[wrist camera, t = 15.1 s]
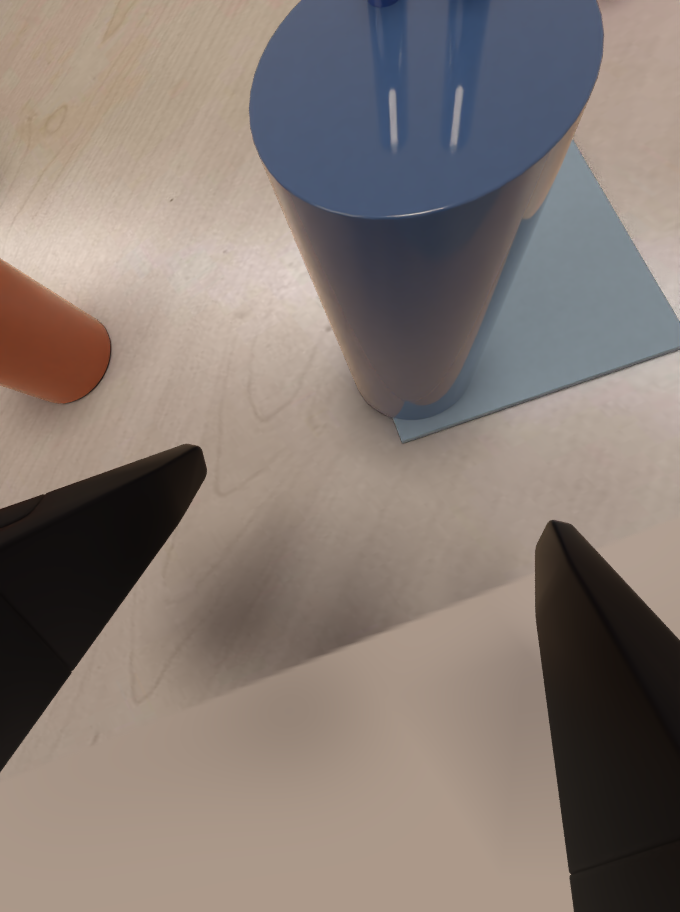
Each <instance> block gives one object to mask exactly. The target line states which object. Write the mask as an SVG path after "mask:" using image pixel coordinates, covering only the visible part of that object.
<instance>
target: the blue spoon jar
mask: <svg viewBox="0 0 680 912" xmlns="http://www.w3.org/2000/svg"><path fill="white" fill-rule="evenodd" d="M603 43H604V30H603V22H602V14H601V11H600V8H599V5H598V2H597V0H301V1H300V2H299V3H298V4H297V5H296V6H295V7H294V8H293V9H292V10H291V11H290V13H289V14H288V15H287V16H286V18H285V19H284V20H283V21H282V23H281V24H280V25H279V26H278V28H277V30H276V31H275V33H274V34H273V36H272V37H271V39H270V40H269V42H268V44H267V46H266V48H265V50H264V52H263V54H262V56H261V58H260V60H259V63H258V66H257V69H256V71H255V74H254V78H253V83H252V87H251V91H250V103H249V117H250V129H251V133H252V137H253V142H254V145H255V147H256V150H257V152H258V154H259V157H260V159H261V162H262V164H263V166H264V169H265V171H266V173H267V176H268V178H269V180H270V183H271V185H272V188H273V190H274V192H275V195H276V197H277V199H278V202H279V204H280V206H281V209H282V211H283V214H284V216H285V218H286V221H287V223H288V225H289V228H290V230H291V232H292V235H293V237H294V240H295V242H296V244H297V247H298V249H299V251H300V254H301V256H302V258H303V261H304V263H305V266H306V268H307V270H308V273H309V275H310V277H311V280H312V282H313V284H314V287H315V289H316V292H317V294H318V296H319V299H320V301H321V303H322V306H323V308H324V310H325V313H326V315H327V318H328V320H329V322H330V325H331V327H332V329H333V332H334V334H335V336H336V339H337V341H338V344H339V346H340V348H341V351H342V353H343V355H344V358H345V360H346V362H347V365H348V367H349V370H350V372H351V374H352V377H353V379H354V381H355V384H356V386H357V388H358V390H359V392H360V394H361V395H362V397H363V398H364V399H365V400H366V402H367V403H368V404H370V405H371V406H372V407H373V408H374V409H376V410H377V411H379V412H381V413H383V414H385V415H387V416H390V417H393V418H397V419H403V420H419V419H425V418H429V417H432V416H435V415H437V414H440V413H442V412H444V411H445V410H447V409H449V408H450V407H451V406H453V405H454V404H455V403H456V402H457V401H458V400H459V399H460V398H461V397H462V396H463V395H464V393H465V392H466V391H467V389H468V387H469V385H470V383H471V381H472V379H473V376H474V374H475V371H476V369H477V367H478V364H479V362H480V359H481V357H482V355H483V352H484V350H485V347H486V345H487V343H488V340H489V338H490V335H491V333H492V331H493V328H494V326H495V323H496V321H497V319H498V316H499V314H500V311H501V309H502V307H503V304H504V302H505V299H506V297H507V295H508V292H509V290H510V287H511V285H512V283H513V280H514V278H515V275H516V273H517V271H518V268H519V266H520V263H521V261H522V259H523V256H524V254H525V251H526V249H527V247H528V244H529V242H530V239H531V237H532V235H533V232H534V230H535V228H536V225H537V223H538V220H539V218H540V216H541V213H542V211H543V208H544V206H545V204H546V201H547V199H548V196H549V194H550V192H551V189H552V187H553V184H554V182H555V180H556V177H557V175H558V172H559V170H560V168H561V165H562V163H563V160H564V158H565V156H566V153H567V151H568V148H569V146H570V144H571V141H572V139H573V136H574V134H575V132H576V129H577V127H578V124H579V122H580V120H581V117H582V115H583V112H584V110H585V108H586V105H587V103H588V100H589V98H590V96H591V93H592V91H593V88H594V86H595V83H596V81H597V79H598V75H599V70H600V66H601V62H602V58H603Z"/></svg>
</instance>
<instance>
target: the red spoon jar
mask: <svg viewBox="0 0 680 912" xmlns="http://www.w3.org/2000/svg"><path fill="white" fill-rule="evenodd" d="M109 358H110V340H109V336H108V333H107V331H106V329H105V328H104V326H103V325H102V324H101V323H100V322H99V321H98V320H97V319H95V318H94V317H92V316H91V315H89V314H87V313H86V312H84V311H83V310H81V309H79V308H78V307H76V306H75V305H73V304H72V303H70V302H68V301H67V300H65V299H64V298H62V297H61V296H59V295H57V294H56V293H54V292H53V291H51V290H50V289H48V288H46V287H45V286H43V285H42V284H40V283H39V282H37V281H35V280H34V279H32V278H31V277H29V276H28V275H26V274H24V273H23V272H21V271H20V270H18V269H16V268H15V267H13V266H12V265H10V264H9V263H7V262H5V261H4V260H2V259H1V258H0V386H3V387H6V388H9V389H12V390H15V391H18V392H21V393H24V394H27V395H30V396H34V397H37V398H40V399H43V400H46V401H49V402H52V403H69V402H73V401H76V400H78V399H80V398H82V397H83V396H85V395H86V394H88V393H89V392H90V391H91V390H92V389H93V388H94V387H95V386H96V385H97V384H98V382H99V381H100V380H101V378H102V376H103V375H104V373H105V371H106V368H107V366H108V362H109Z"/></svg>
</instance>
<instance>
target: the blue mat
mask: <svg viewBox="0 0 680 912" xmlns="http://www.w3.org/2000/svg"><path fill="white" fill-rule="evenodd" d="M679 349H680V321H679V320H678V318H677V316H676V315H675V313H674V311H673V309H672V308H671V306H670V304H669V303H668V301H667V299H666V297H665V296H664V294H663V292H662V291H661V289H660V287H659V286H658V284H657V282H656V280H655V279H654V277H653V275H652V274H651V272H650V270H649V269H648V267H647V265H646V263H645V262H644V260H643V258H642V257H641V255H640V253H639V252H638V250H637V248H636V246H635V245H634V243H633V241H632V240H631V238H630V236H629V234H628V233H627V231H626V229H625V228H624V226H623V224H622V223H621V221H620V219H619V217H618V216H617V214H616V212H615V211H614V209H613V207H612V206H611V204H610V202H609V200H608V199H607V197H606V195H605V194H604V192H603V190H602V188H601V187H600V185H599V183H598V182H597V180H596V178H595V177H594V175H593V173H592V171H591V170H590V168H589V166H588V165H587V163H586V161H585V160H584V158H583V156H582V154H581V153H580V151H579V149H578V148H577V146H576V144H575V143H574V141H573V139H572V141H571V144H570V146H569V148H568V151H567V153H566V156H565V158H564V160H563V163H562V165H561V168H560V170H559V172H558V175H557V177H556V180H555V182H554V184H553V187H552V189H551V192H550V194H549V196H548V199H547V201H546V204H545V206H544V208H543V211H542V213H541V216H540V218H539V220H538V223H537V225H536V228H535V230H534V232H533V235H532V237H531V239H530V242H529V244H528V247H527V249H526V251H525V254H524V256H523V259H522V261H521V263H520V266H519V268H518V271H517V273H516V275H515V278H514V280H513V283H512V285H511V287H510V290H509V292H508V295H507V297H506V299H505V302H504V304H503V307H502V309H501V311H500V314H499V316H498V319H497V321H496V323H495V326H494V328H493V331H492V333H491V335H490V338H489V340H488V343H487V345H486V347H485V350H484V352H483V355H482V357H481V359H480V362H479V364H478V367H477V369H476V371H475V374H474V376H473V379H472V381H471V383H470V385H469V387H468V389H467V391H466V392H465V393H464V395H463V396H462V397H461V398H460V399H459V400H458V401H457V402H456V403H455V404H454V405H453V406H451V407H450V408H449V409H447V410H445V411H444V412H442V413H440V414H437V415H435V416H432V417H429V418H425V419H419V420H403V419H397V418H393V420H394V422H395V425H396V428H397V431H398V434H399V437H400V439H401V442H402V443H406V442H409V441H412V440H415V439H418V438H420V437H423V436H426V435H429V434H432V433H435V432H438V431H441V430H444V429H447V428H450V427H453V426H456V425H459V424H461V423H464V422H467V421H470V420H473V419H476V418H479V417H482V416H485V415H488V414H491V413H494V412H497V411H500V410H503V409H505V408H508V407H511V406H514V405H517V404H520V403H523V402H526V401H529V400H532V399H535V398H538V397H541V396H544V395H547V394H549V393H552V392H555V391H558V390H561V389H564V388H567V387H570V386H573V385H576V384H579V383H582V382H585V381H588V380H591V379H593V378H596V377H599V376H602V375H605V374H608V373H611V372H614V371H617V370H620V369H623V368H626V367H629V366H632V365H635V364H637V363H640V362H643V361H646V360H649V359H652V358H655V357H658V356H661V355H664V354H667V353H670V352H673V351H676V350H679Z"/></svg>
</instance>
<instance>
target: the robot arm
mask: <svg viewBox="0 0 680 912" xmlns="http://www.w3.org/2000/svg"><path fill="white" fill-rule="evenodd" d="M206 474H207V468H206V464H205V460H204V456H203V452H202V449H201V448H200V447H199V446H196V445H191V444H183V445H180V446H178V447H175V448H172V449H169V450H166V451H163V452H161V453H158V454H155V455H152V456H149V457H147V458H144V459H141V460H138V461H135V462H133V463H130V464H127V465H124V466H121V467H118V468H116V469H113V470H110V471H107V472H104V473H102V474H99V475H96V476H93V477H90V478H88V479H85V480H82V481H79V482H76V483H73V484H71V485H68V486H65V487H62V488H59V489H57V490H54V491H51V492H48V493H46V494H45V495H44V494H42V495H39V496H37V497H34V498H31V499H28V500H25V501H22V502H20V503H17V504H14V505H11V506H8V507H5V508H2V509H0V772H1V770H2V769H3V768H4V766H5V765H6V764H7V762H8V761H9V759H10V758H11V757H12V755H13V754H14V752H15V751H16V750H17V748H18V747H19V745H20V744H21V743H22V741H23V740H24V738H25V737H26V736H27V734H28V733H29V731H30V730H31V729H32V727H33V726H34V725H35V723H36V722H37V720H38V719H39V718H40V716H41V715H42V713H43V712H44V711H45V709H46V708H47V706H48V705H49V704H50V702H51V701H52V699H53V698H54V697H55V695H56V694H57V692H58V691H59V690H60V688H61V687H62V686H63V684H64V683H65V681H66V680H67V679H68V677H69V676H70V674H71V673H72V672H71V671H73V670H74V668H75V667H76V666H77V664H78V663H79V662H80V660H81V659H82V657H83V656H84V655H85V653H86V652H87V650H88V649H89V648H90V646H91V645H92V643H93V642H94V641H95V639H96V638H97V637H98V635H99V634H100V632H101V631H102V630H103V628H104V627H105V625H106V624H107V623H108V621H109V620H110V618H111V617H112V616H113V614H114V613H115V611H116V610H117V609H118V607H119V606H120V605H121V603H122V602H123V600H124V599H125V598H126V596H127V595H128V593H129V592H130V591H131V589H132V588H133V586H134V585H135V584H136V582H137V581H138V579H139V578H140V577H141V575H142V574H143V573H144V571H145V570H146V568H147V567H148V566H149V564H150V563H151V561H152V560H153V559H154V557H155V556H156V554H157V553H158V552H159V550H160V549H161V547H162V546H163V545H164V543H165V542H166V541H167V539H168V538H169V536H170V535H171V534H172V532H173V531H174V529H175V528H176V527H177V525H178V524H179V522H180V521H181V519H182V517H183V516H184V514H185V512H186V511H187V509H188V507H189V505H190V504H191V502H192V500H193V498H194V497H195V495H196V493H197V491H198V490H199V488H200V486H201V484H202V483H203V481H204V479H205V477H206ZM535 612H536V624H537V632H538V640H539V647H540V655H541V662H542V670H543V678H544V685H545V693H546V700H547V708H548V716H549V723H550V730H551V738H552V746H553V753H554V760H555V768H556V776H557V784H558V791H559V798H560V807H561V814H562V822H563V829H564V837H565V845H566V852H567V860H568V867H569V872H570V874H571V875H570V884H571V892H572V900H573V907H574V912H680V640H679V639H678V638H677V637H676V636H675V635H674V634H673V633H672V631H671V630H670V629H669V628H668V627H667V626H666V625H665V624H664V623H663V622H662V621H661V620H660V619H659V617H657V615H656V614H655V613H654V612H653V611H652V610H651V609H650V608H649V607H648V606H647V605H646V604H645V602H644V601H643V600H642V599H641V598H640V597H639V596H638V595H637V594H636V593H635V592H634V591H633V590H632V589H631V587H630V586H629V585H628V584H627V583H626V582H625V581H624V580H623V579H622V578H621V577H620V576H619V575H618V573H617V572H616V571H615V570H614V569H613V568H612V567H611V566H610V565H609V564H608V563H607V562H606V561H605V560H604V558H603V557H601V555H600V554H599V553H598V552H597V551H596V550H595V549H594V548H593V547H592V546H591V544H590V543H589V542H588V541H587V540H586V539H585V538H584V537H583V536H582V535H581V534H580V533H579V532H578V531H577V529H576V528H575V527H574V526H573V525H571V524H569V523H566V522H561V521H556V520H551V521H549V522H548V523H547V525H546V527H545V529H544V531H543V533H542V535H541V537H540V539H539V541H538V543H537V545H536V550H535Z"/></svg>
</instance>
